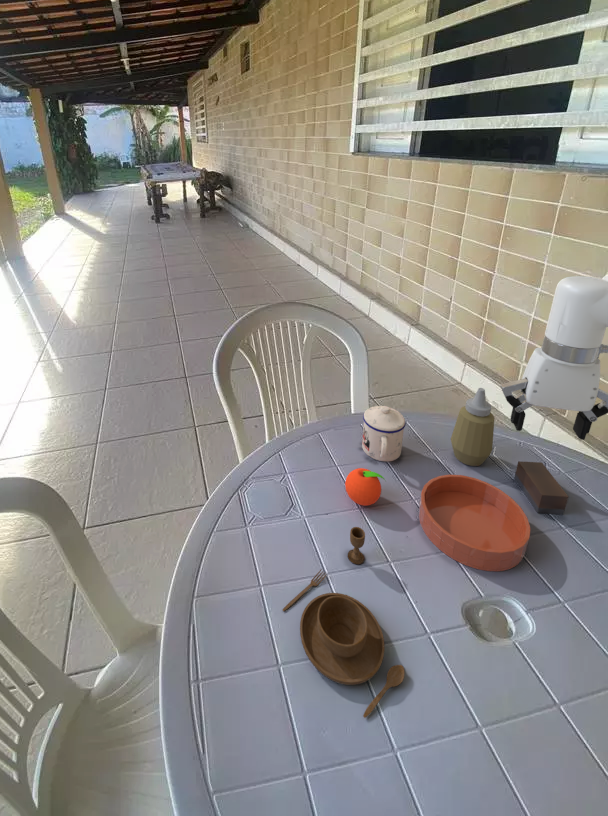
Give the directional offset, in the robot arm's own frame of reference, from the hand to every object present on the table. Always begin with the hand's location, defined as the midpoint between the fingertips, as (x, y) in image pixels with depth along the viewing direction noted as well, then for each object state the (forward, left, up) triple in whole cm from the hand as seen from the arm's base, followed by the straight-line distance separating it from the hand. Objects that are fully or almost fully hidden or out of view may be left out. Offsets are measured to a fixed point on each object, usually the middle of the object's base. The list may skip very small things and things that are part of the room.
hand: (546, 430), depth 78 cm
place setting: (+37, +28, -16) cm, 49 cm away
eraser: (-2, 0, -16) cm, 16 cm away
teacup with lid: (+26, -10, -16) cm, 33 cm away
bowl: (+14, +9, -16) cm, 23 cm away
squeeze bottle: (+7, -11, -16) cm, 21 cm away
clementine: (+32, +4, -16) cm, 36 cm away
